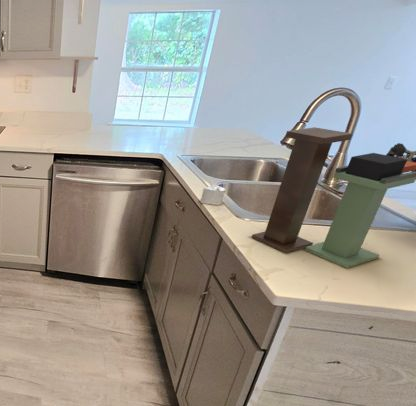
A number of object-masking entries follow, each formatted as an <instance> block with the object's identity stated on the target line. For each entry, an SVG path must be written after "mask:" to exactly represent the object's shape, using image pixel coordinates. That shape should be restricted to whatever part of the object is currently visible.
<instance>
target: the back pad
mask: <svg viewBox="0 0 416 406" xmlns="http://www.w3.org/2000/svg"><path fill="white" fill-rule="evenodd" d="M347 166H348V167H347V170H346V172H345V173H347V174H351V175H355V176H359V177H363V178H367V179H371V180H375V181H381V179H382V178H386V177H391V176H395V175H400V174H401V173H403V174H405V173H409V172H412V171H415V170H416V163H415V162H410V161H407V159H403V158H398V157H392V156H387V155H386V154H381V153H377V152H370V153H366V154H361V155H360V154H359V155H354V156H351V157H350V160H349V162H348V164H347Z"/></svg>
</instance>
